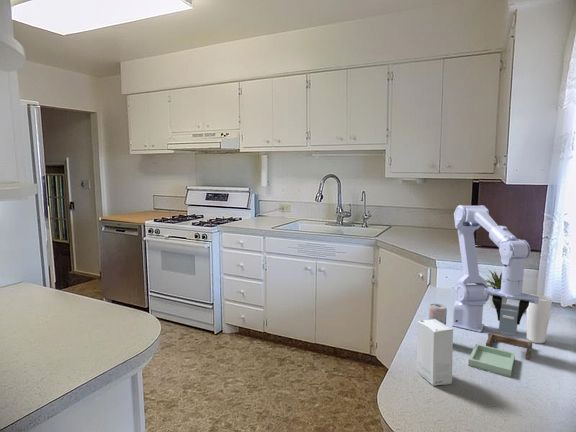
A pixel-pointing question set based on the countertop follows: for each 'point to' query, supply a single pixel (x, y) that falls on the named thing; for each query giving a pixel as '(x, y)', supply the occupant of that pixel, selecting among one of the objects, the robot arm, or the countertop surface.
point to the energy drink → (438, 313)
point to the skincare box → (435, 351)
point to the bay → (510, 342)
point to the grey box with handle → (508, 318)
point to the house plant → (498, 286)
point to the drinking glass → (538, 319)
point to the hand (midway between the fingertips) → (508, 321)
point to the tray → (492, 360)
